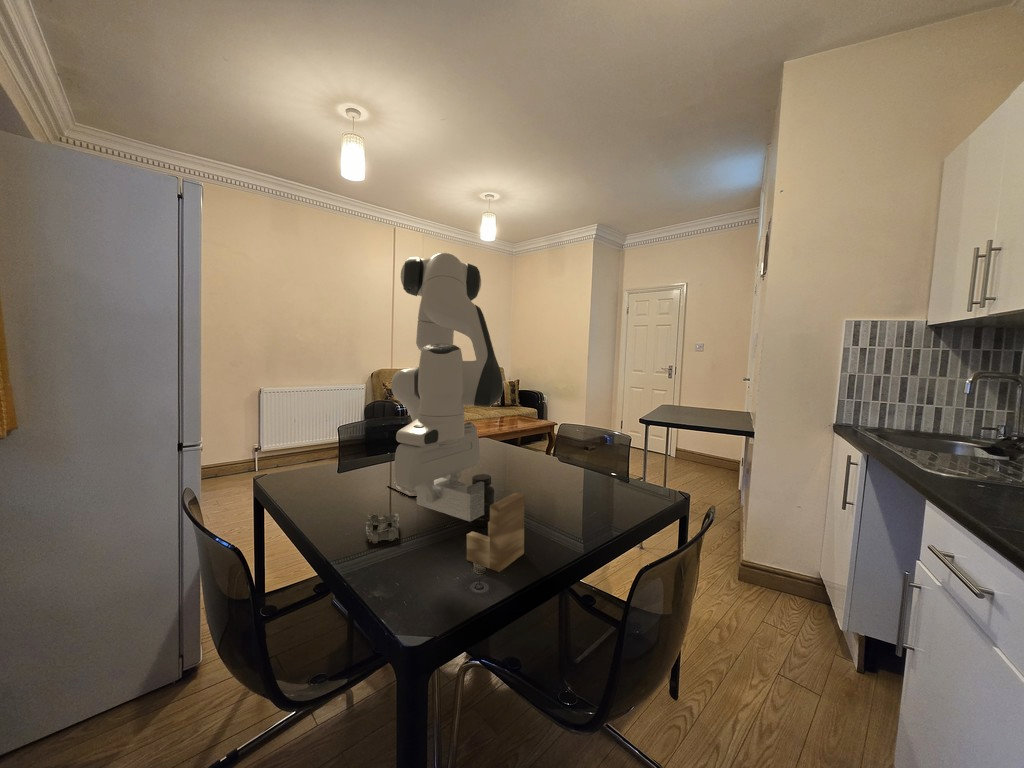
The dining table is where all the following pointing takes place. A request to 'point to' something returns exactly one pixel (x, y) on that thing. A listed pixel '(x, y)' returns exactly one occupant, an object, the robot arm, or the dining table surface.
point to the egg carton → (382, 526)
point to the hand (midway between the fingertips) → (441, 497)
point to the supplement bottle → (488, 499)
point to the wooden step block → (500, 535)
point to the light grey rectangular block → (455, 498)
